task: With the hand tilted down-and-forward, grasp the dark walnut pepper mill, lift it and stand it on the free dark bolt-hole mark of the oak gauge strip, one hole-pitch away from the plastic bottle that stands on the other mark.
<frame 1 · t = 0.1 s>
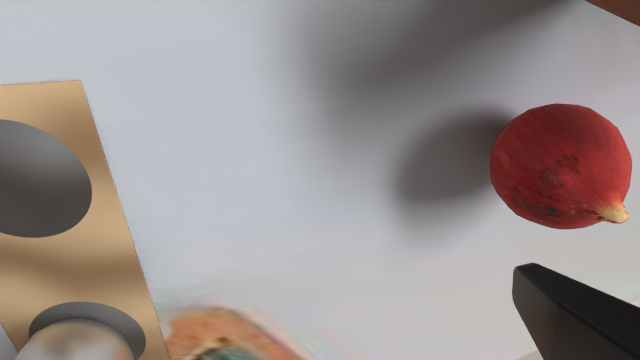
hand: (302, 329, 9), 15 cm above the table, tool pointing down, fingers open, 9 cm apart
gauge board: (18, 181, 23), on the table
plastic bottle: (89, 337, 29), resting on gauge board
onion: (516, 130, 25), on the table
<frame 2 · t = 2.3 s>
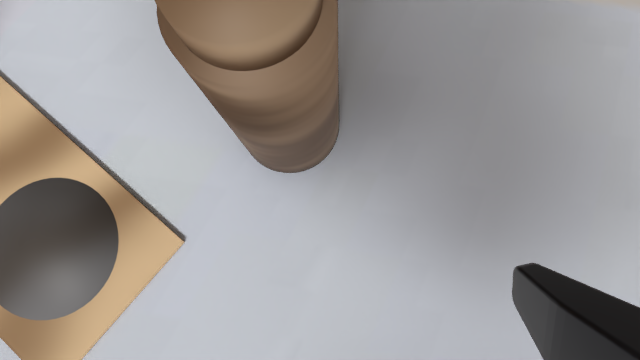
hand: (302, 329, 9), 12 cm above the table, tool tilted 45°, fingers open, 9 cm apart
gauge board: (51, 247, 22), on the table
pepper mill: (290, 125, 23), on the table
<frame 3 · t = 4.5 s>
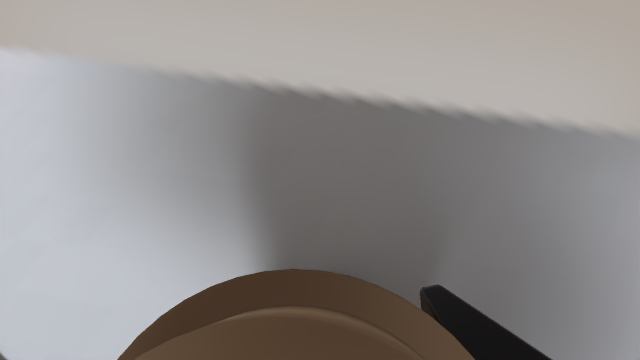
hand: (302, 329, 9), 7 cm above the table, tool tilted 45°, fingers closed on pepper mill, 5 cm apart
pepper mill: (328, 347, 15), on the table, touching gripper
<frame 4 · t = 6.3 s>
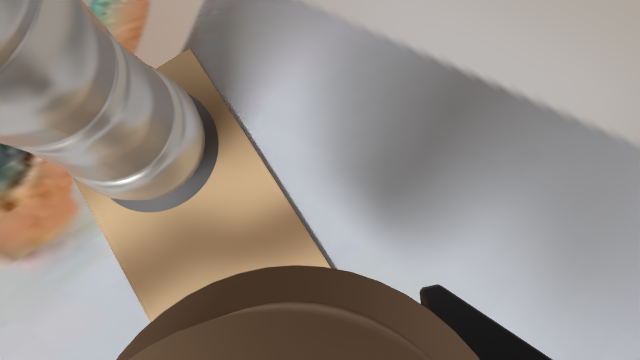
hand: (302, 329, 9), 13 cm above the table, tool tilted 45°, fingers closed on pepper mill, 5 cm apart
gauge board: (271, 345, 22), on the table
pepper mill: (328, 346, 15), point 7 cm above the table, touching gripper
plastic bottle: (156, 149, 24), resting on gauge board
when the fingers open (7 cm above the table, at t = 8.4 s): pepper mill stays where it is, resting on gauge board.
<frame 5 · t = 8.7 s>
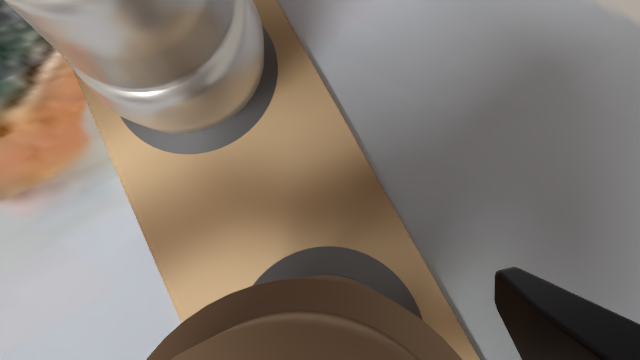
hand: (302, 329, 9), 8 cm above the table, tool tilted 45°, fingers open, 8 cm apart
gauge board: (328, 343, 16), on the table
pepper mill: (330, 345, 16), resting on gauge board
plastic bottle: (196, 74, 19), resting on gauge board
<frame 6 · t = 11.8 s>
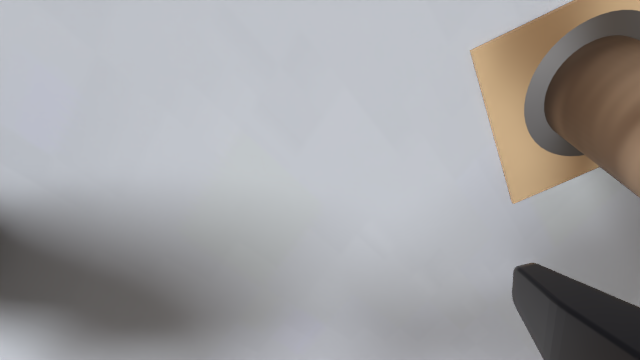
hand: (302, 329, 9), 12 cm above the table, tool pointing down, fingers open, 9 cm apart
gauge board: (595, 87, 21), on the table
pepper mill: (597, 90, 21), resting on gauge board
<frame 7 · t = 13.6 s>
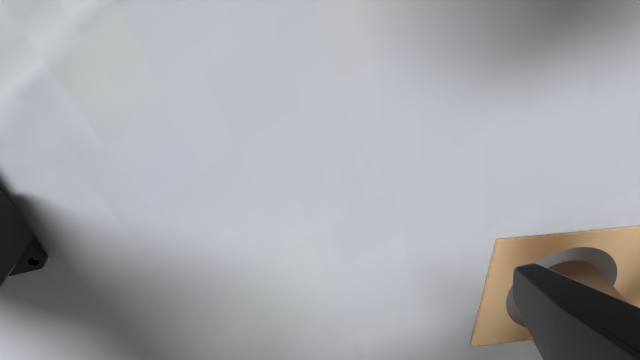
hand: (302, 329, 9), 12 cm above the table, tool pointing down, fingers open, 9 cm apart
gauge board: (559, 288, 28), on the table
pepper mill: (560, 290, 28), resting on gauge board
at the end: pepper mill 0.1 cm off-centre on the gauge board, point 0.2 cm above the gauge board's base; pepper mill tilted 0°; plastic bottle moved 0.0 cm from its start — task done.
